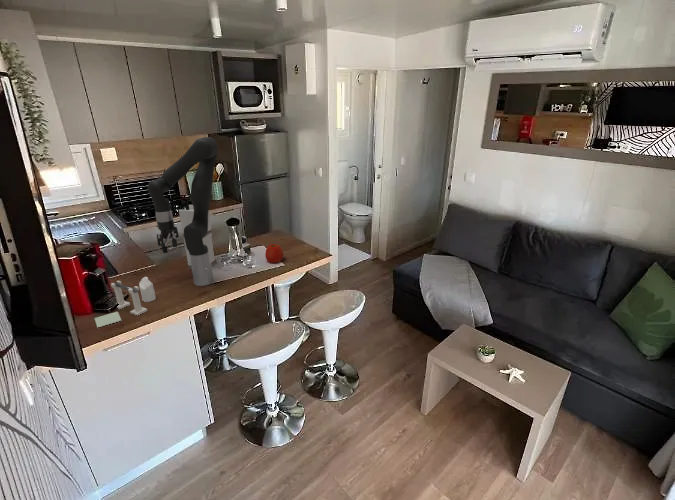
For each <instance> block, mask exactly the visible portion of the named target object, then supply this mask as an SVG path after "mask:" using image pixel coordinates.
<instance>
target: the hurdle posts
mask: <svg viewBox="0 0 675 500" xmlns="http://www.w3.org/2000/svg"><path fill="white" fill-rule="evenodd" d="M114 283H115V282H112V283H110V286H111V288H113V291H114V294H115V297H116V303H118V304H119V305H118V306H117V308H118V309H117V308H116V309H117V310H120V309H121V310H123V309H125V308H126V306H127V307H129V306H130V305H131V302H129V301H126V300H125V299H124V298H125V297H124V295H123V291H122V288H120V287H117V286H116V285H115V284H114ZM116 283H118V284H121V285H123V283H122V281H121V280H116ZM133 289H136V290H138V292H137V293H135V292H133V290H132V289H128V290H127V291H128V293H129V294H130V295H131V299H132V303H133V307H134V309H132V310H130V311H129V313H130V314H131V315H133V314H134V316H136V315H137V317H138V315H139V316H141V315H142V313H143V314H145V313H146V312H148V308H145V307H143V306H142V305H141V300H140V296H139V295H140V294H139V291H140V286H136V285H135V286H134V287H133ZM124 307H125V308H124ZM122 308H123V309H122ZM140 314H141V315H140Z"/></svg>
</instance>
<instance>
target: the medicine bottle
mask: <svg viewBox="0 0 675 500" xmlns="http://www.w3.org/2000/svg"><path fill="white" fill-rule="evenodd" d="M242 244H243V249H244V251H245V253H247V254H251V255H252V250H251V244H250V243H248V239H247V237H246V236H242Z"/></svg>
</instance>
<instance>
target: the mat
mask: <svg viewBox="0 0 675 500" xmlns="http://www.w3.org/2000/svg"><path fill="white" fill-rule="evenodd" d="M94 321H95V325H96V328H97V329H99V328H98V327H102V326H105V325H108V326H110V325H109V324H111V325H113V324H112V323H115V324H117V323H116V322H118V323H120V322H119V321H121V322H122V321H123V320H122V318H121V316H120V314H119V312H118V311H115V312H112V313H111V312H110V313H108V314H104V315H101V316H97V317H94ZM105 327H106V326H105ZM102 328H103V327H102Z"/></svg>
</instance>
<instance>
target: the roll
mask: <svg viewBox="0 0 675 500" xmlns="http://www.w3.org/2000/svg"><path fill="white" fill-rule="evenodd" d="M138 287H139V291H140V294H141V295H140V296H141V301H142V302H143V301H144V302H145V303H149V302H153V301H155V300H156V299H157V297H156V292H155V288H154V284H153V282H151V280H149V277H147V276H144V277H142V278H141V280H140V281H139V282H138Z"/></svg>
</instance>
